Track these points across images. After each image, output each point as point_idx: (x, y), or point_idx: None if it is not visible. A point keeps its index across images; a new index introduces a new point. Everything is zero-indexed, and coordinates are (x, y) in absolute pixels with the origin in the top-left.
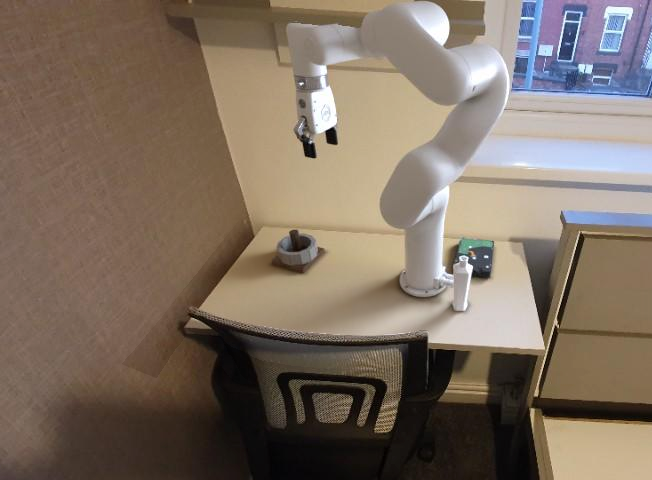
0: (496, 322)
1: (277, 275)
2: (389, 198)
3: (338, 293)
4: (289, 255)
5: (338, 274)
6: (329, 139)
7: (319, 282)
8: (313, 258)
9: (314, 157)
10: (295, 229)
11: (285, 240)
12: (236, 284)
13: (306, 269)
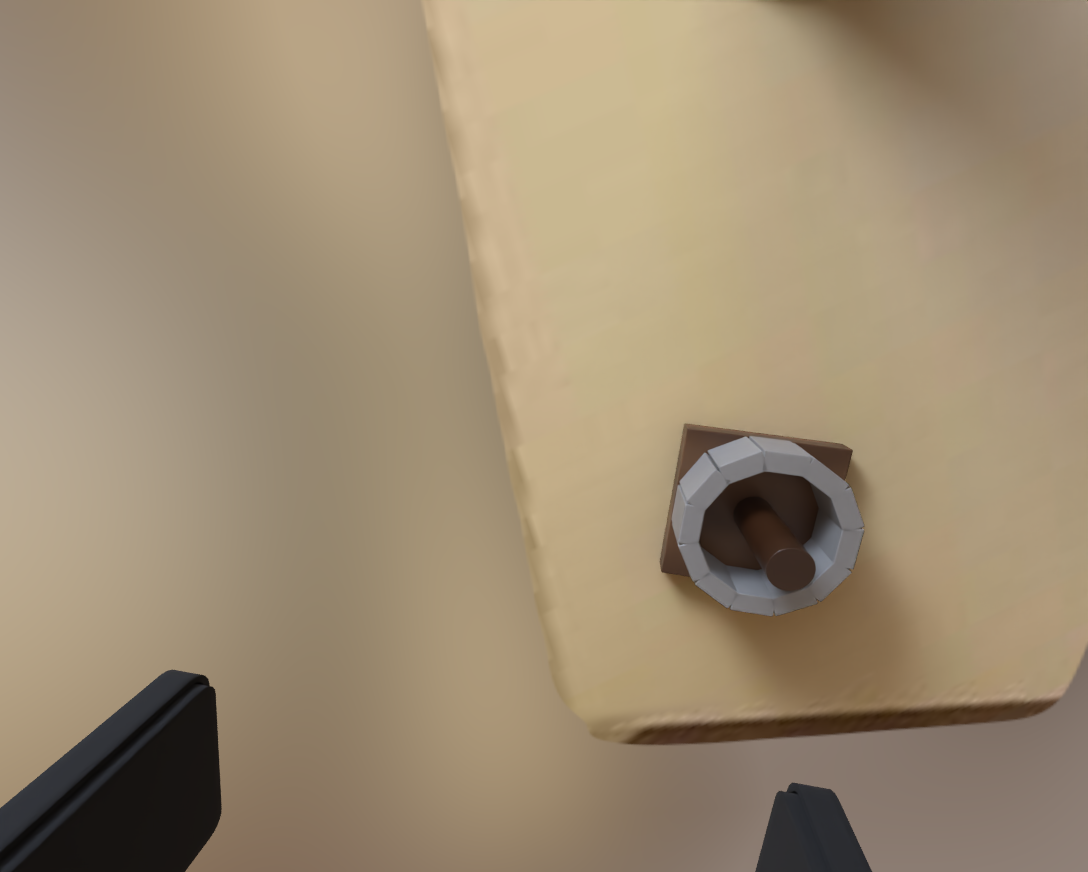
0: None
1: (873, 535)
2: None
3: (958, 238)
4: (863, 525)
5: (825, 297)
6: (158, 845)
7: (893, 353)
8: (775, 439)
9: (831, 811)
10: (767, 571)
11: (750, 594)
12: (949, 647)
13: (823, 442)
